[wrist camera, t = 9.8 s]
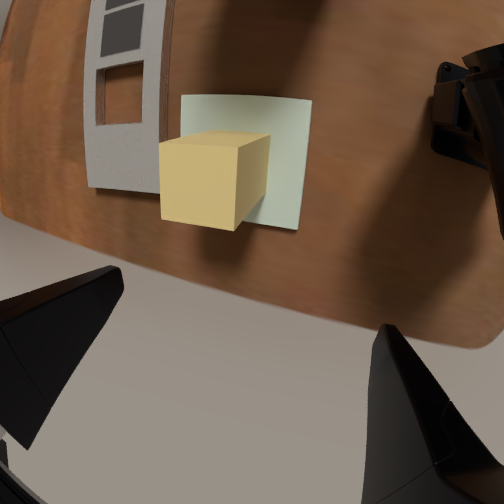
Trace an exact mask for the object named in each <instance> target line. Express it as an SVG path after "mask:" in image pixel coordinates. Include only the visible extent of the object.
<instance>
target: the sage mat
mask: <svg viewBox="0 0 504 504" xmlns="http://www.w3.org/2000/svg"><path fill="white" fill-rule="evenodd" d="M311 112H312V101H311V100H303V99H293V98H283V97H270V96H254V95H222V94H204V95H182V98H181V137H184V136H188V135H192V134H197V133H201V132H206V131H210V130H226V131H241V132H253V133H263V134H271V139H270V152H269V164H268V176H267V187H266V192H265V194H264V195H263V196H262V197H261V198H260V200H259V201H258V202H257V203H256V205H255V206H254V207H253V208H252V209H251V211H250V212H249V213H248V214H247V216H246V217H245V218H244V219H243V221H246V222H253V223H259V224H265V225H271V226H277V227H283V228H289V229H295V230H297V229H298V226H299V218H300V211H301V203H302V195H303V187H304V179H305V170H306V161H307V152H308V143H309V133H310V123H311Z"/></svg>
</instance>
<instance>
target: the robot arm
mask: <svg viewBox="0 0 504 504" xmlns="http://www.w3.org/2000/svg"><path fill="white" fill-rule="evenodd" d="M462 59H463V61H464V64H465V66H466V67H468V69H469V70H468V69H465V68H463V67H460V66H458V65H455V64H452V63H449V62H443V63H441V64H440V66H439V80H438V84H436V85H435V86H434V96H433V106H432V114H431V121H432V123H433V124H434V128H433V135H432V141H431V148H432V150H433V151H434V152H436V153H438V154H441V155H444V156H447V157H451V158H454V159H457V160H460V161H463V162H466V163H469V164H472V165H475V166H478V167H481V168H483V169H486V170H488V171H489V175H490V179H491V183H492V188H493V192H494V197H495V202H496V208H497V213H498V220H499V226H500V232H501V235H502V237H503V240H504V43H503V44H499V45H495V46H492V47H488V48H485V49H481V50H478V51H475V52H473V53H470V54H468V55H466V56H464V57H462ZM445 66H447V67H448V68H449V72H446V70H445V68H444V67H445ZM437 143H440V144H441V148H440V149H437V148H436V145H437ZM123 291H124V283H123V278H122V273H121V270H120V268H119V267H116V266H112V265H109V266H106V267H103V268H100V269H96V270H93V271H90V272H87V273H84V274H81V275H78V276H75V277H72V278H69V279H66V280H63V281H60V282H57V283H54V284H51V285H48V286H45V287H42V288H39V289H36V290H33V291H30V292H27V293H24V294H21V295H18V296H15V297H12V298H9V299H5V300H2V301H0V504H47V503H46V502H45V501H44V500H42V499H41V498H40V497H39V496H37V495H36V494H35V493H34V492H33V491H32V490H30V489H29V488H28V487H27V486H26V485H25V484H24V483H23V482H22V481H20V480H19V479H18V478H17V477H16V476H15V475H14V474H13V473H12V472H11V471H10V470H9V467H8V458H7V446H6V442H5V441H4V440H3V439H2V437H3V436H4V435H5V433H6V432H8V433H9V434H10V435H11V436H12V437H13V438H14V439H15V440H16V441H17V442H18V443H19V444H21V445H22V446H23V447H24V448H25V449H26V450H28V449H29V448H30V446H31V444H32V443H33V441H34V439H35V437H36V435H37V433H38V432H39V430H40V428H41V426H42V424H43V423H44V421H45V419H46V417H47V415H48V414H49V412H50V410H51V408H52V406H53V405H54V403H55V401H56V400H57V398H58V396H59V395H60V393H61V391H62V390H63V388H64V386H65V385H66V383H67V382H68V380H69V378H70V377H71V375H72V374H73V372H74V370H75V369H76V367H77V365H78V364H79V363H80V361H81V359H82V358H83V356H84V355H85V353H86V352H87V350H88V349H89V347H90V345H91V344H92V343H93V341H94V340H95V338H96V337H97V335H98V334H99V332H100V331H101V329H102V328H103V326H104V325H105V323H106V322H107V320H108V318H109V316H110V315H111V313H112V311H113V309H114V307H115V306H116V304H117V302H118V300H119V299H120V297H121V295H122V293H123ZM361 504H504V466H503V465H502V464H500V463H499V462H498V461H497V460H496V459H495V457H494V456H493V455H492V454H491V453H490V451H489V450H488V449H487V447H486V446H485V445H484V444H483V443H482V442H481V440H480V439H479V437H478V436H477V435H476V434H475V433H474V431H473V430H472V429H471V427H470V426H469V425H468V424H467V422H466V421H465V420H464V418H463V417H462V416H461V414H460V413H459V411H458V410H457V409H456V407H455V406H454V404H453V403H452V401H450V399H449V397H448V396H447V394H446V393H445V392H444V390H443V389H442V388H441V386H440V385H439V383H438V382H437V380H436V379H435V378H434V376H433V375H432V374H431V372H430V371H429V369H428V368H427V367H426V365H425V364H424V363H423V361H422V360H421V359H420V357H419V356H418V355H417V354H416V352H415V351H414V350H413V348H412V347H411V346H410V344H409V343H408V342H407V340H406V339H405V338H404V337H403V335H402V334H401V333H400V331H399V330H398V329H397V328H396V327H395V326H394V325H390V324H382V325H381V327H380V329H379V331H378V334H377V337H376V338H375V341H374V343H373V347H372V356H371V367H370V377H369V385H368V417H367V444H366V461H365V473H364V484H363V493H362V501H361Z"/></svg>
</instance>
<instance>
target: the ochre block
mask: <svg viewBox="0 0 504 504" xmlns="http://www.w3.org/2000/svg"><path fill="white" fill-rule="evenodd" d="M270 139H271V134H263V133H253V132H241V131H226V130H210V131H206V132H201V133H197V134H192V135H188V136H184V137H180V138H176V139H172V140H168V141H165V142H161V143H159V176H160V201H161V219H164V220H170V221H176V222H182V223H188V224H194V225H200V226H206V227H212V228H218V229H224V230H230V231H234V230H235V229H236V228H237V227H238V226H239V224H240V223H241V222H242V221H243V219H244V218H245V217H246V216H247V214H248V213H249V212H250V211H251V209H252V208H253V207H254V206H255V205H256V203H257V202H258V201H259V200H260V198H261V197H262V196H263V195H264V194H265V192H266V187H267V176H268V164H269V152H270Z"/></svg>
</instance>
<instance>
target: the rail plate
mask: <svg viewBox="0 0 504 504" xmlns="http://www.w3.org/2000/svg"><path fill="white" fill-rule="evenodd" d="M174 3H175V0H92V1H91V8H90V15H89V22H88V31H87V40H86V52H85V67H84V138H85V155H86V167H87V178H88V187H96V188H108V189H119V190H129V191H139V192H149V193H158V194H160V176H159V143H161V142H165V141H167V108H168V79H169V60H170V46H171V33H172V22H173V12H174ZM143 62H144V70H143V97H142V122H130V123H115V124H105V70H106V69H111V68H116V67H120V66H126V65H131V64H137V63H143Z"/></svg>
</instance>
